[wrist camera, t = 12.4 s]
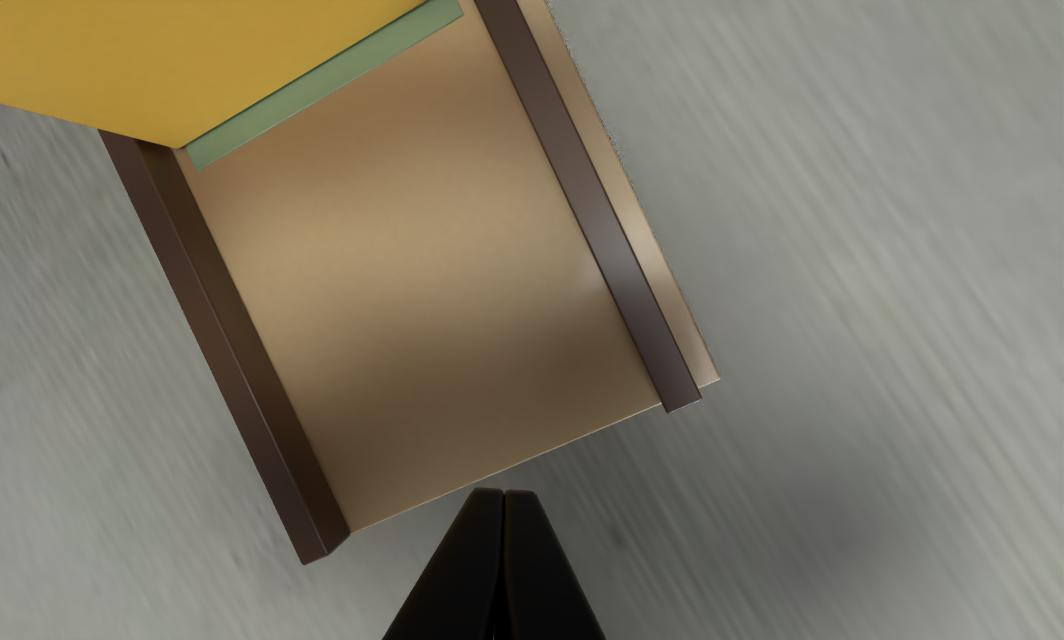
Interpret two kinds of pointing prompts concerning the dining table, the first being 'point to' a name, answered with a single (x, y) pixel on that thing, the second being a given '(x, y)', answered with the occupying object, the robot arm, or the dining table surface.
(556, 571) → the robot arm
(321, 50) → the ochre block
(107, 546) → the dining table surface
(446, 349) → the maple track
